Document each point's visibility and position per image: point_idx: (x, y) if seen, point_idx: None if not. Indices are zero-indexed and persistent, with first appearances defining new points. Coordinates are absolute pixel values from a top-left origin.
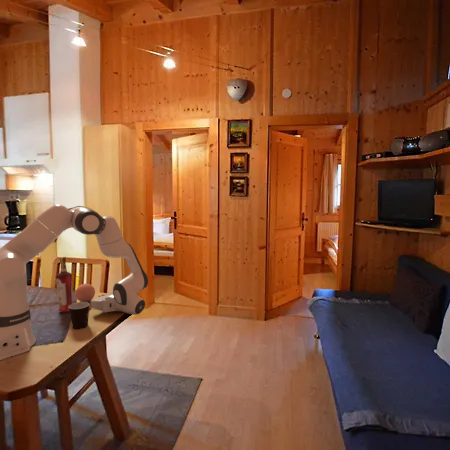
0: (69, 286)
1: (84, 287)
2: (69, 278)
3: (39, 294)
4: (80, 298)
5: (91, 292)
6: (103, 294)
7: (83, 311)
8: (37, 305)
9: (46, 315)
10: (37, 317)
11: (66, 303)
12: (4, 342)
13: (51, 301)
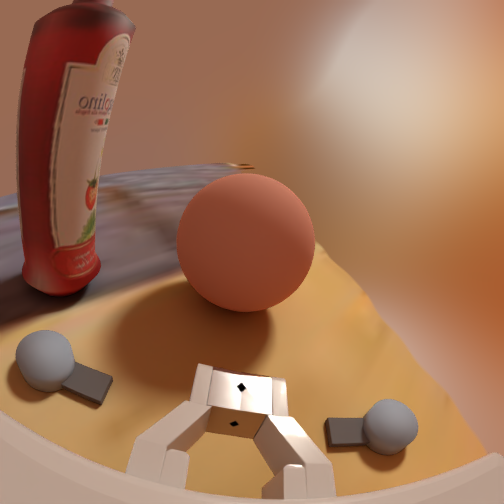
0: (35, 101)
1: (227, 192)
2: (53, 32)
3: None
4: (179, 259)
5: (252, 263)
6: (271, 395)
7: None
8: (126, 201)
9: (19, 242)
10: (7, 230)
11: (22, 231)
12: None
13: (172, 212)
